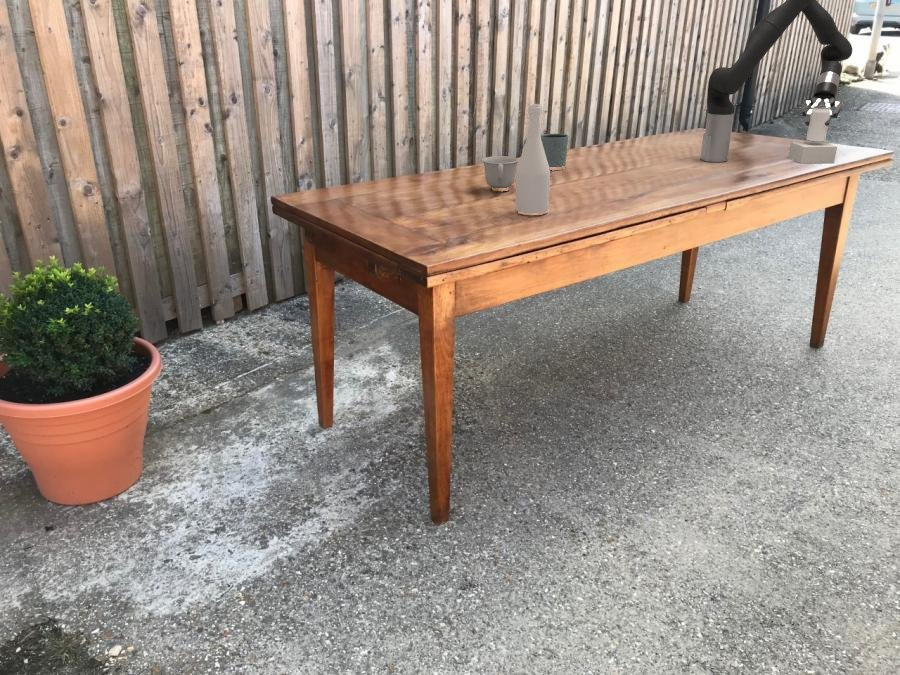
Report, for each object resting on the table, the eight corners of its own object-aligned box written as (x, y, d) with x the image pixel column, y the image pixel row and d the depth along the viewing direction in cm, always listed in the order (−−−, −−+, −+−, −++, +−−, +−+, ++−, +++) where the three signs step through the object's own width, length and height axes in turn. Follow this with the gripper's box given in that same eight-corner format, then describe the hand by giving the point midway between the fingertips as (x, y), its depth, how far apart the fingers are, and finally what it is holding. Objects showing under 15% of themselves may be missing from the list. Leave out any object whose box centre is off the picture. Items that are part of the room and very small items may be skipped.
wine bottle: (547, 208, 212) (551, 102, 200) (549, 217, 204) (553, 106, 191) (515, 208, 213) (517, 102, 201) (515, 217, 204) (517, 106, 192)
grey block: (801, 163, 267) (804, 147, 264) (788, 157, 277) (790, 141, 275) (834, 163, 266) (837, 146, 264) (819, 157, 277) (822, 141, 275)
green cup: (568, 171, 262) (570, 137, 257) (540, 171, 262) (542, 137, 257) (564, 165, 271) (566, 133, 266) (537, 166, 271) (538, 133, 266)
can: (828, 141, 266) (834, 107, 261) (810, 142, 266) (816, 108, 261) (820, 138, 272) (826, 105, 267) (802, 139, 272) (808, 105, 267)
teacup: (481, 196, 228) (481, 164, 224) (481, 186, 241) (481, 156, 237) (519, 196, 227) (520, 164, 223) (518, 186, 240) (518, 155, 236)
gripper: (806, 80, 270) (795, 117, 265) (849, 81, 263) (839, 119, 259) (805, 93, 276) (795, 130, 272) (847, 95, 269) (837, 132, 265)
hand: (816, 124), depth 265 cm, fingers closed on can, 5 cm apart
